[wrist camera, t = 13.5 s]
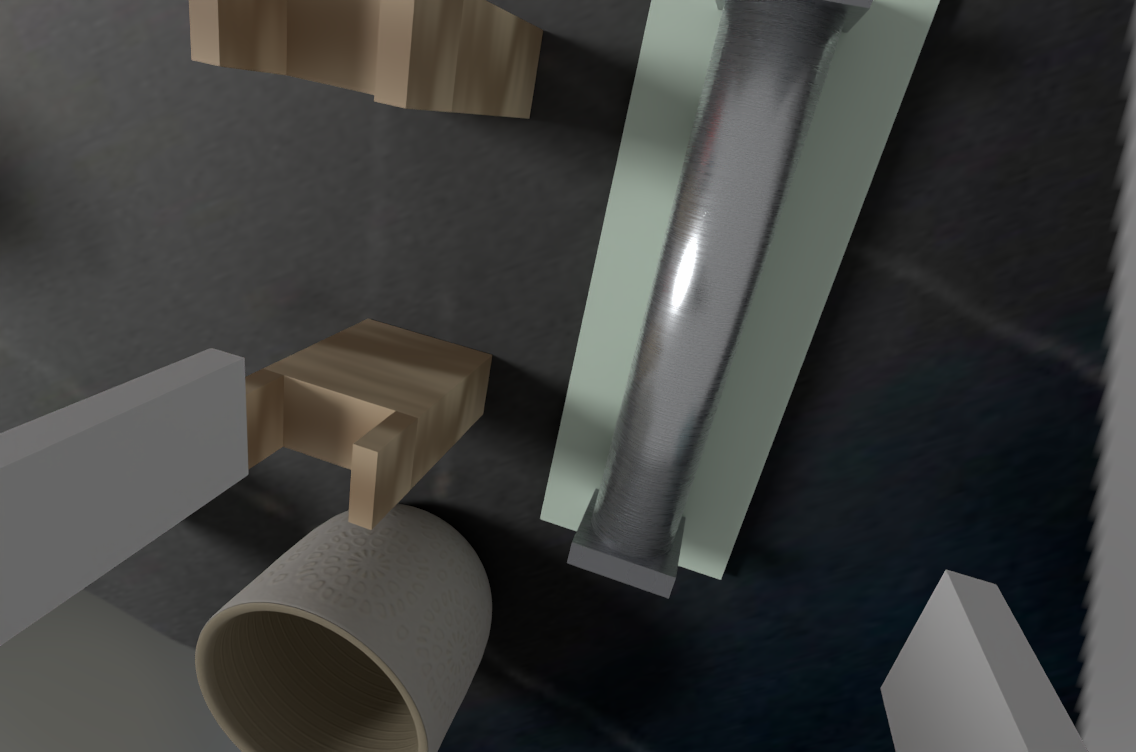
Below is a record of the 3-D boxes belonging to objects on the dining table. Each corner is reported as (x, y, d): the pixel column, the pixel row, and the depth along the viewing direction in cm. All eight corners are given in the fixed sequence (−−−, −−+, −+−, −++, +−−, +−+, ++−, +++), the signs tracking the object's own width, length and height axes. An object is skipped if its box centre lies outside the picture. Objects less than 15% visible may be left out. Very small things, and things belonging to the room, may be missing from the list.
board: (674, -90, 24) (672, -97, 23) (952, -46, 22) (960, -53, 21) (544, 510, 35) (539, 518, 34) (721, 570, 33) (720, 579, 32)
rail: (726, -28, 23) (721, -66, 19) (859, -5, 22) (886, -39, 18) (590, 506, 33) (566, 562, 29) (679, 536, 32) (668, 598, 28)
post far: (368, 318, 33) (207, 395, 23) (492, 354, 32) (377, 452, 22) (364, 377, 35) (210, 472, 25) (483, 414, 34) (371, 530, 24)
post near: (389, 0, 27) (185, -78, 17) (543, 30, 26) (417, -35, 16) (383, 86, 29) (191, 59, 19) (529, 118, 28) (405, 108, 18)
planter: (554, 603, 37) (482, 773, 27) (418, 670, 42) (317, 833, 32) (420, 442, 35) (292, 559, 26) (296, 532, 41) (151, 658, 31)
